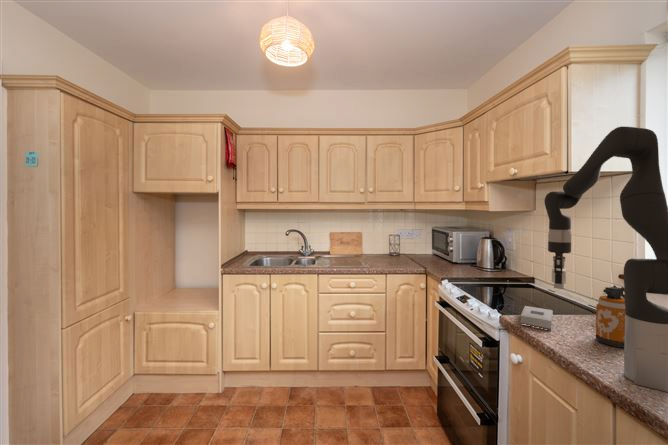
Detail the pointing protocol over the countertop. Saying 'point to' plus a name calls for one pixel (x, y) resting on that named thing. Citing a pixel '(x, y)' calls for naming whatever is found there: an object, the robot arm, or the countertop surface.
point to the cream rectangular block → (561, 286)
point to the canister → (611, 317)
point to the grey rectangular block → (537, 317)
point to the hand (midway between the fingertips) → (558, 282)
